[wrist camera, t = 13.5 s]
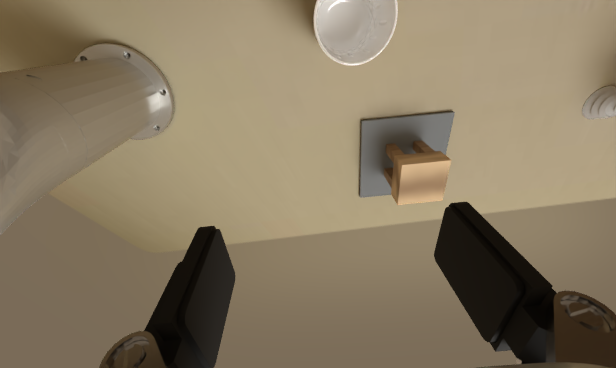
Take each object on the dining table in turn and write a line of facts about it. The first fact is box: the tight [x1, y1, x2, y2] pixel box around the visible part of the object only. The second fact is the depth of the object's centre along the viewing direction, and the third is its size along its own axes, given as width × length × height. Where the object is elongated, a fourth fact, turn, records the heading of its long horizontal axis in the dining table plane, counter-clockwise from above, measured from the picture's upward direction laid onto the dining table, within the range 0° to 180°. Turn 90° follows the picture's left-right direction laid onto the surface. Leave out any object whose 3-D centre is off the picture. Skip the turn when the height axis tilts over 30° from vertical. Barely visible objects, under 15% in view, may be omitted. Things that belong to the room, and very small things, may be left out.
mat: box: [360, 111, 455, 198], centre depth 42 cm, size 14×14×1 cm
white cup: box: [313, 0, 398, 65], centre depth 28 cm, size 8×8×10 cm
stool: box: [384, 140, 451, 205], centre depth 39 cm, size 6×6×8 cm
